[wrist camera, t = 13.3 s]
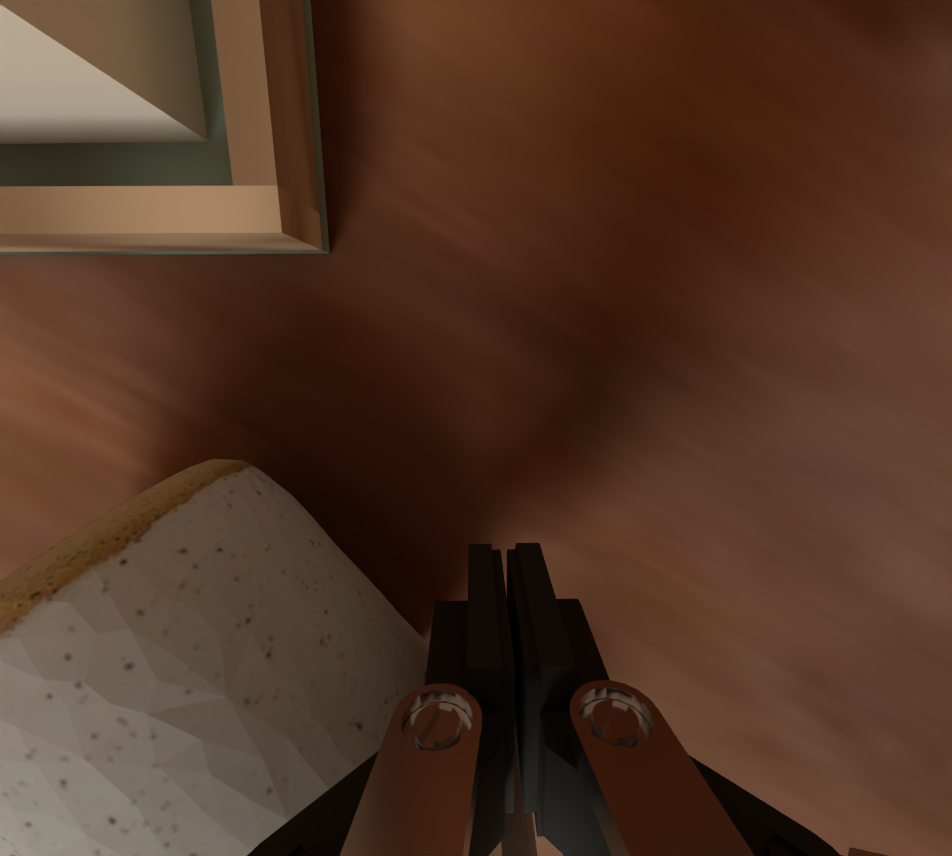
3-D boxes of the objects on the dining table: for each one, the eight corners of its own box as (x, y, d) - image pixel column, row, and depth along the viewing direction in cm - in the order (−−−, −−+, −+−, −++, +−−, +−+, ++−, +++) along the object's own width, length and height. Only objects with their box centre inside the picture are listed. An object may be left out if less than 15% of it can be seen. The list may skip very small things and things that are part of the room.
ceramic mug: (280, 404, 12) (-16, 544, 5) (469, 613, 14) (459, 959, 7) (29, 614, 14) (-478, 957, 7) (223, 780, 16) (-10, 1209, 8)
